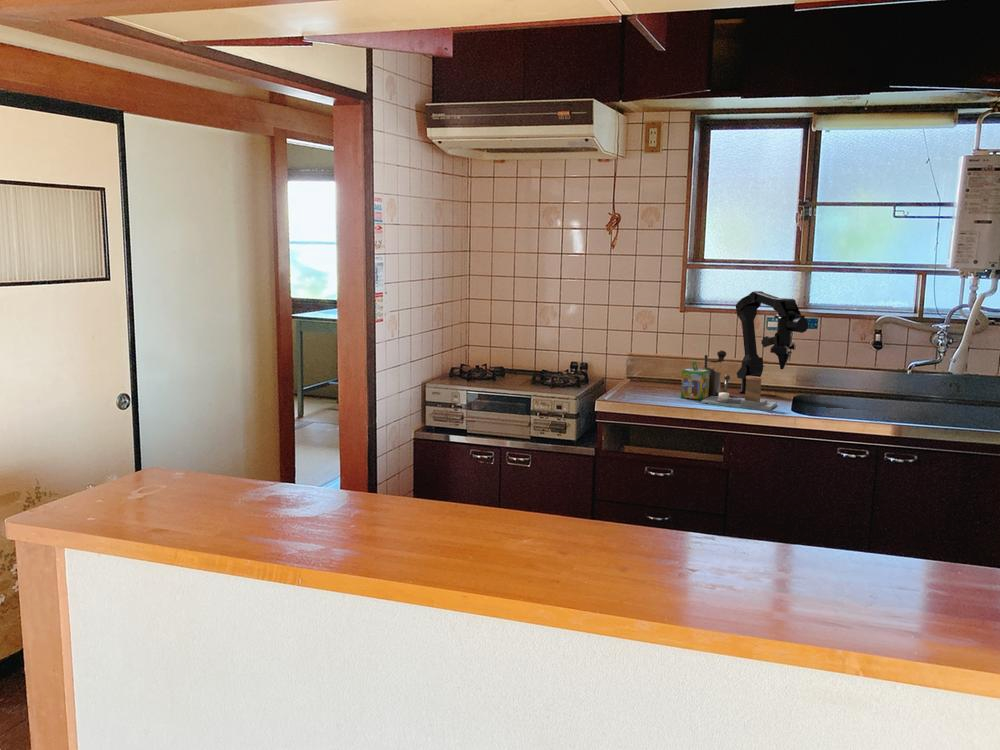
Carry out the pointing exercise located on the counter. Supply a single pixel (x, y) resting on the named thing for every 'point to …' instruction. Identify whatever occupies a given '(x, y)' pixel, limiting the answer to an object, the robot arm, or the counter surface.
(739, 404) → the control board
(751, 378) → the brown tall rectangular block
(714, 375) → the grey knobbed device
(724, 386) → the dark gray metallic lever
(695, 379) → the chalk box
